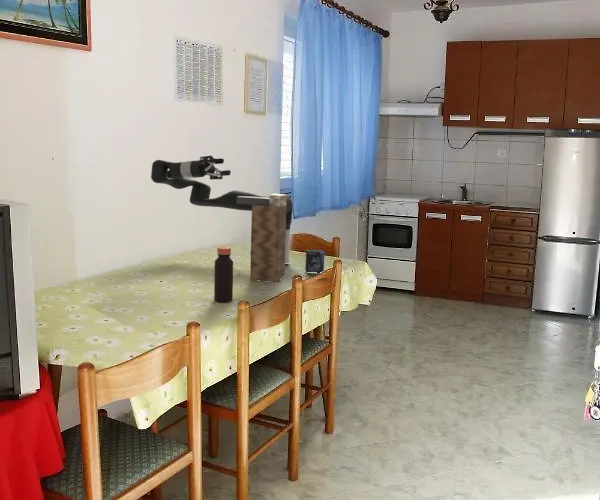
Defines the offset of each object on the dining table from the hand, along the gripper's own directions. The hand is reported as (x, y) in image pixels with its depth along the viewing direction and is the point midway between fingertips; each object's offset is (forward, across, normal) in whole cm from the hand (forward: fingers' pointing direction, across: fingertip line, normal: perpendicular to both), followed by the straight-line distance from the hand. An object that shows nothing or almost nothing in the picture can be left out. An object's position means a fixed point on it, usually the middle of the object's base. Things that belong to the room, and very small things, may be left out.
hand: (226, 166), depth 280 cm
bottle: (+12, -7, +68) cm, 69 cm away
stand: (+16, +26, +42) cm, 52 cm away
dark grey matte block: (+15, +6, +17) cm, 24 cm away
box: (+33, +42, +32) cm, 62 cm away
